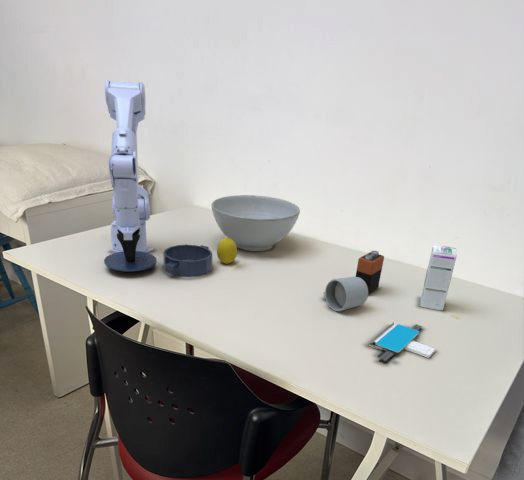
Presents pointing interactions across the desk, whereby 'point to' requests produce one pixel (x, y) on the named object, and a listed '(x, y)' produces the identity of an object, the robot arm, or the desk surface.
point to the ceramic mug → (346, 293)
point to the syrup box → (438, 277)
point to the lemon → (226, 250)
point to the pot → (182, 268)
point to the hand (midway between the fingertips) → (130, 257)
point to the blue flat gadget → (399, 342)
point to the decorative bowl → (254, 220)
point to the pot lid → (140, 262)
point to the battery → (370, 269)
